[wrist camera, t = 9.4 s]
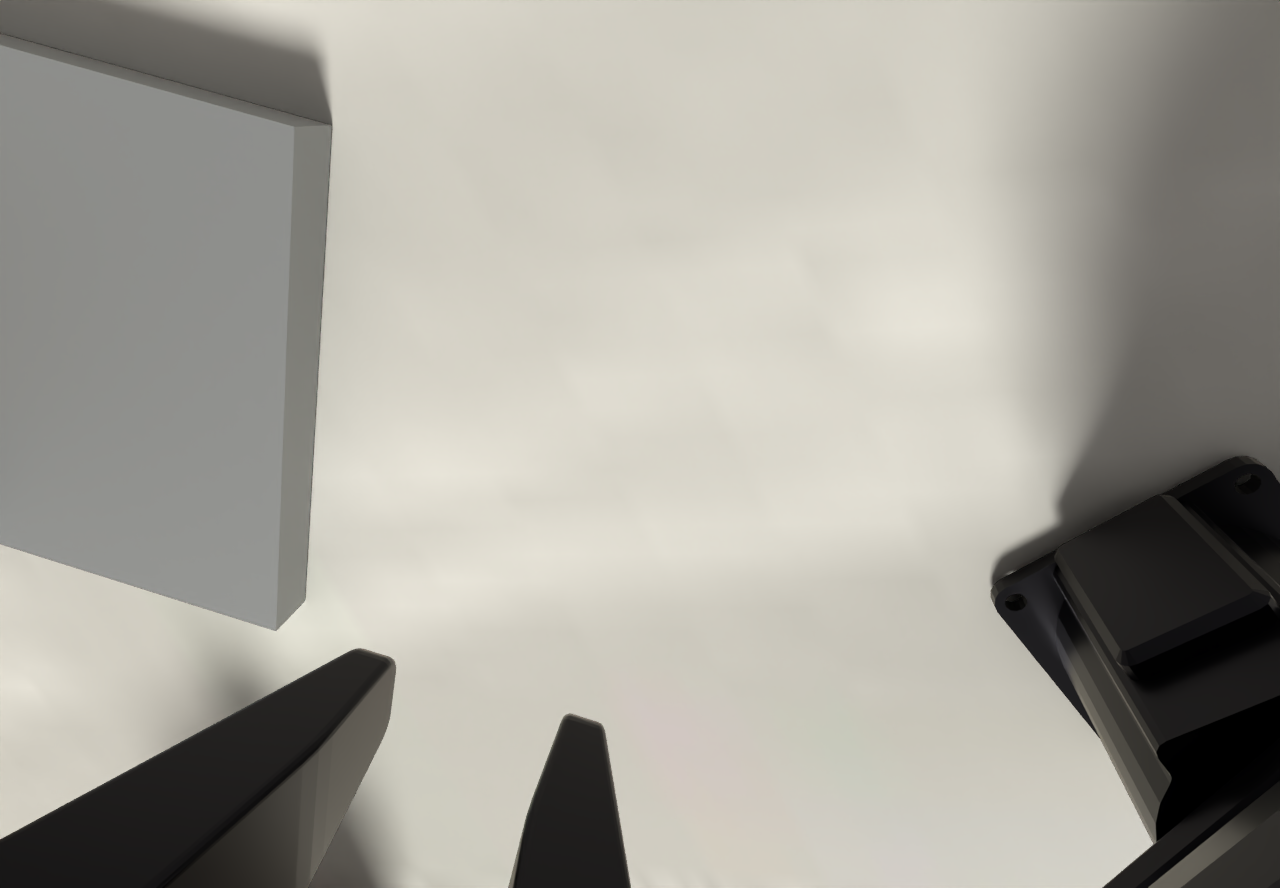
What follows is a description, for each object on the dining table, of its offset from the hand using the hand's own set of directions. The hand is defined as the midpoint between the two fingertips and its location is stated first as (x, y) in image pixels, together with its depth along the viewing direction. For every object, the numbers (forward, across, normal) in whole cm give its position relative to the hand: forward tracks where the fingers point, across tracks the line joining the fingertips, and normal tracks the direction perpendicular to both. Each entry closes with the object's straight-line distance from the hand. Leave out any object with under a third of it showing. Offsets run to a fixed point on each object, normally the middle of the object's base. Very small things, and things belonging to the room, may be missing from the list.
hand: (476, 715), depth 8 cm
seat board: (+12, +17, +4) cm, 21 cm away
